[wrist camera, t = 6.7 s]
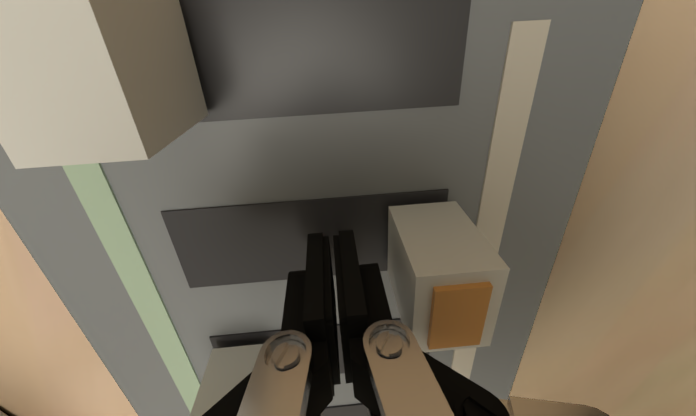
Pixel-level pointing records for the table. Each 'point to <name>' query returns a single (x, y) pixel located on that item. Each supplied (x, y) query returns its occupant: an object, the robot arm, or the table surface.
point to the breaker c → (224, 374)
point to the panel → (326, 174)
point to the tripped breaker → (444, 276)
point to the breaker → (94, 80)
